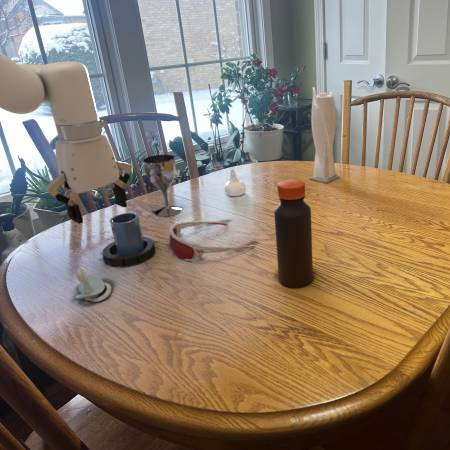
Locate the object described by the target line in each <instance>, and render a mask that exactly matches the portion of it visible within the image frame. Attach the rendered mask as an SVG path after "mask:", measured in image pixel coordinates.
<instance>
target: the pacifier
mask: <svg viewBox="0 0 450 450" xmlns="http://www.w3.org/2000/svg"><path fill="white" fill-rule="evenodd" d="M75 275H76V278H77V280H78V281H79V284H78V291H79V293H78V294H77V295H76V296H75V300H83V299H85V301H89V302H90V301H91V302H95V303H96V302H97V303H98V302H102V301H104V300H105V299H107V298H108V297H109V296H110V295H111V294H112V288H113V287H112V285H111V284H110V283H108V282H104V280H103V279H102V278H100V277H99V276H97V275H89V273H88V272H87V270H86V269H85V268H84V267H82V266H80V267H79V268H78V269H77V270H76V273H75ZM105 289H106V290H105ZM104 290H105V292H104ZM103 292H104V293H103ZM102 293H103V294H102ZM100 294H102V295H100ZM99 295H100V296H99Z"/></svg>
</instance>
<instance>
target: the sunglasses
mask: <svg viewBox="0 0 450 450" xmlns="http://www.w3.org/2000/svg"><path fill="white" fill-rule="evenodd" d="M200 225H201V226H203V225H216V226H217V225H218V226H224V227H226V226H228V225H229V223H228V222H221V221H201V220H200V221H197V220H196V221H195V220H194V221H184V222H177V223H175V224H172V225H171V226H170V227H169V229H168V230H169V232H168V233H169V242H170V245H171V249H172V251H174V252H175V254H176V255H177V257H178V258H179V259H180V260H182V261H187V262H196V261H198V260H199V259H202V258H203V256H204V254H218V253H225V252H231V251H239V250H250V249H254V248H255V247H256V244H249V245H242V246H240V245H239V246H227V247H226V246H210V245H209V246H208V245H202V244H198V243H194V242H191V241H187V240H185V239H183V238H181V237H180V235H181V231H182V230H184V229H187V228H189V227H190V228H191V227H195V226H200Z"/></svg>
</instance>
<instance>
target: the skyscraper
mask: <svg viewBox="0 0 450 450" xmlns="http://www.w3.org/2000/svg"><path fill="white" fill-rule="evenodd" d="M335 105H336V104H335V97H334V94H333V93H332V92H331V91H329V94H328V92H326V91H325V92H318V93H317V91H316V88H315V87H314V86H313V87H312V102H311V118H310V120H311V132H312V133H311V134H312V141H313V144H314V148H315V153H314V163H313V173H312V176H311V177H309V180H310V181H314V182H318V183H323V184H329V183H331V182H333V181H335V180H338V179H339V178H341V176H340V175H337V174H336V166H335V160H334V153H333V149H332V148H333V144H334V141H335V134H336V126H337V117H336V106H335Z"/></svg>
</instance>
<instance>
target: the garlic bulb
mask: <svg viewBox="0 0 450 450" xmlns="http://www.w3.org/2000/svg"><path fill="white" fill-rule="evenodd" d="M229 171H230V172H229V180H228V181H227V182H226V183H225V185H224V192H225V195H227V196H229V197H239V196H242V195H244V194H245V193H246V191H247V187H246V184H245V183H244V181H242V180H240V179H238V177H237V175H236V172H235V168H234V167H233V168H230V169H229Z"/></svg>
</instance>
